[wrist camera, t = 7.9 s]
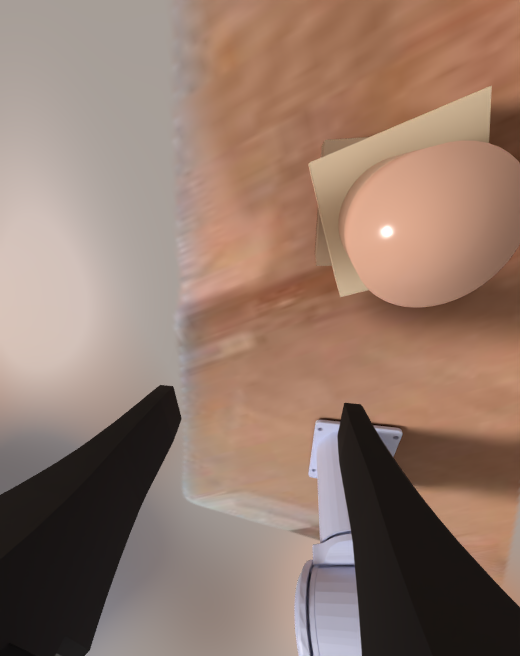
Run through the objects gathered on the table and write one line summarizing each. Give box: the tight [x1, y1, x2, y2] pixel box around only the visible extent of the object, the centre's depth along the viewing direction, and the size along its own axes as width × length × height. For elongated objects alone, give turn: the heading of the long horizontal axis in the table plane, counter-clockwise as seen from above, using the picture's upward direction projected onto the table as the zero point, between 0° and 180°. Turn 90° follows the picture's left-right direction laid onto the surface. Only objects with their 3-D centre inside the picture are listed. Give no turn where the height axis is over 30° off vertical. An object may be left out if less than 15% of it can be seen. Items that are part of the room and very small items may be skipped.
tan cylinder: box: [338, 140, 520, 307], centre depth 9 cm, size 4×4×4 cm
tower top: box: [309, 86, 492, 297], centre depth 12 cm, size 6×6×3 cm
